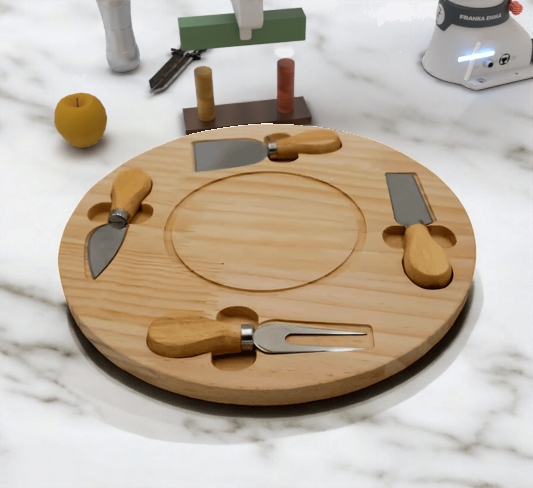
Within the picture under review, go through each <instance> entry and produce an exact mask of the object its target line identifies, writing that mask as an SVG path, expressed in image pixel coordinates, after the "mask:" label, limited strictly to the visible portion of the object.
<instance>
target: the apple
mask: <svg viewBox="0 0 533 488" xmlns="http://www.w3.org/2000/svg"><path fill="white" fill-rule="evenodd" d="M53 120H54V121H53V123H54V126H55V128H56V131H57V132H58V133H59V134H60V136H61V137H62V138H63V139H64V140H65V141H66V142H67V143H69V144H70V145H71V146H72V147H74V148H78V149H85V148H89V147H92V146H94V145H96V144H98V143H99V142H100V140H101V139H102V138H103V136H104V134H105V132H106V129H107V124H108V115H107V111H106V108H105V106H104V104H103V103H102V101H101V100H100V99H99V98H98V97H97V96H96V95H93V94H91V93H87V92H77V93H76V92H75V93H72V94H68V95H66V96H63V97H61V98H60V100H59V101H58V102H57V104H56V106H55V109H54V119H53Z"/></svg>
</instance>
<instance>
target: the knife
mask: <svg viewBox="0 0 533 488" xmlns="http://www.w3.org/2000/svg"><path fill="white" fill-rule="evenodd" d="M179 46H180V47H179V48H173V47H171V48H170V51H171V57H170V58H169V59H168V60H167V61H166V62H165V63H164V64H163V65H162V66H161V67H160V69H158V71H157V72H156V73H155V74H153V76H152V77H151V78H150V79H148V85H149V89H150V90H151V91H150V95H152V94H154V93H157V92H160V91H163V90H165V89H166V88H167V87H168V86H169V85H170V84H171V83H172V82H173V81H174V80H175V79H176V78H177V76H179V74H180V73H181V72H183V70H184V69H185V67H187V66H188V64H189V63H190V62H191V61H193V62H195V61H201V59H202V57H201V55H202V53H203V52H206V51H207V49H202V50H192V51H191V52H186V51H182V50H181V44H180V45H179ZM184 53H185V54H184Z"/></svg>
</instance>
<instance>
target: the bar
mask: <svg viewBox="0 0 533 488" xmlns="http://www.w3.org/2000/svg"><path fill="white" fill-rule="evenodd" d="M263 17H264V20H263V26H262V27H261V28H258V29H251V39H249V40H241V39H240V36H239V26H238V23H237V20H236V16H235V13H234V12H230V13H217V14H206V15H194V16H181V17H180V16H179V17H177V24H178V35H179V43H180V45H181V50H182V51H185V52H189V51H191V52H192V51H194V50H198V51H199V50H202V49H206V50H213V49H224V48H234V47H245V46H247V47H248V46H258V45H269V44H279V43H282V44H283V43H292V42H302V41H303V42H304V41H306V35H307V33H306V32H307V15H306V13H305V12H304V10H303V7H291V8H289V7H288V8H279V9H278V8H277V9H266V10H263Z"/></svg>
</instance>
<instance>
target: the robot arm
mask: <svg viewBox="0 0 533 488" xmlns="http://www.w3.org/2000/svg"><path fill="white" fill-rule="evenodd" d="M230 4H231V6H232V9H233V13H235V16H236V20H237V23H238V26H239V36H240V39H241V40H249V39H251V29H258V28H261V27H262V26H263V20H264V17H263V11H264V0H230ZM523 8H524V6H523V5H522V4H521V3H520V2H519V1H518V0H438V2H437V7H436V12H435V26H434V29H433V32H432V36H431V39H430V42H429V44H428V46H427V49H426V51H425V53H424V55H423V57H422V59H421V65H422V67H423V69H424V70H425V71H426V72H427V73H428V74H430V75H431V76H432V77H435V78H437V79H439V80H441V81H444V82H449V83H453V84H457V85H461V86H463V87H465V88H468V89H470V90H474V91H479V90H483V89H488V88H492V87H497V86H501V85H505V84H510V83H514V82H518V81H523V80H526V79H527V80H528V79H532V78H533V38H531V35H530V34H529V33H528V32H527V30H526V29H525V28H524V27H523V26H522V25H521V24H520V23H519V22H518V21H517V20H516V19H515V18H513V16H519V15H521V13H523V11H524V9H523ZM510 12H511V14H512V15H513V16H511V15H510Z"/></svg>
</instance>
